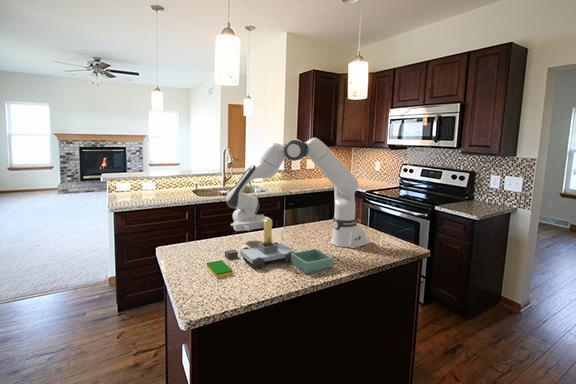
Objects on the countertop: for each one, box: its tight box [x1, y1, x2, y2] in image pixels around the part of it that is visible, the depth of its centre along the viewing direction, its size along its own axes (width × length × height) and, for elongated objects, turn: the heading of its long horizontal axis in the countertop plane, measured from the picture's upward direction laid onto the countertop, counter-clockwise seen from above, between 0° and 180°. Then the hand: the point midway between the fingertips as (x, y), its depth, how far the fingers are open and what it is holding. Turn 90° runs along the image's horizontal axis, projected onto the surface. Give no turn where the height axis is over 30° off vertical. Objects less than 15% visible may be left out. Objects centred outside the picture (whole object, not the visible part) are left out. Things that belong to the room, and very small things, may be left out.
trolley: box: [239, 241, 296, 270], centre depth 152 cm, size 22×16×8 cm
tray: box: [290, 248, 334, 276], centre depth 145 cm, size 14×14×5 cm
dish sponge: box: [206, 259, 234, 279], centre depth 140 cm, size 7×14×2 cm, turn 31°
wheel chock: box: [224, 249, 239, 260], centre depth 156 cm, size 5×4×3 cm
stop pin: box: [263, 218, 273, 247], centre depth 151 cm, size 4×4×15 cm
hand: (258, 227), depth 160 cm, fingers open, 8 cm apart
